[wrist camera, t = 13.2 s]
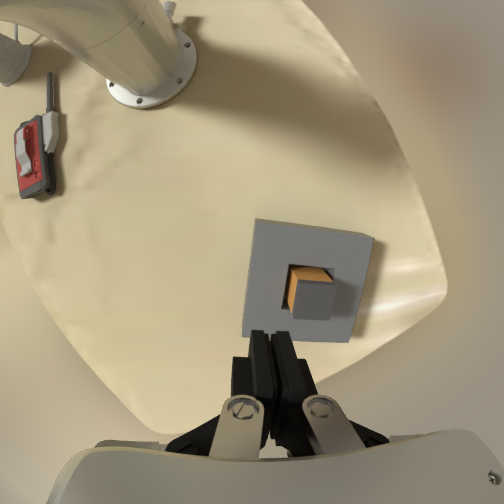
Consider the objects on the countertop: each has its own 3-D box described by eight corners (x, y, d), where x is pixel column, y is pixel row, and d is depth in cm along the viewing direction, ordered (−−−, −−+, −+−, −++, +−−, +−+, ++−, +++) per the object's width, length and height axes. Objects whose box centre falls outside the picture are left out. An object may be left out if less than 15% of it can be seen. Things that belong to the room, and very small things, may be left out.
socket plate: (255, 218, 34) (256, 221, 30) (362, 233, 34) (373, 237, 31) (242, 323, 37) (241, 336, 33) (340, 330, 37) (348, 342, 34)
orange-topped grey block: (289, 264, 34) (299, 283, 28) (320, 267, 35) (336, 285, 28) (284, 294, 35) (293, 319, 28) (315, 296, 35) (329, 320, 29)
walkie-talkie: (69, 188, 32) (59, 71, 28) (51, 189, 28) (44, 63, 24) (31, 206, 33) (22, 96, 28) (13, 209, 28) (7, 91, 24)
